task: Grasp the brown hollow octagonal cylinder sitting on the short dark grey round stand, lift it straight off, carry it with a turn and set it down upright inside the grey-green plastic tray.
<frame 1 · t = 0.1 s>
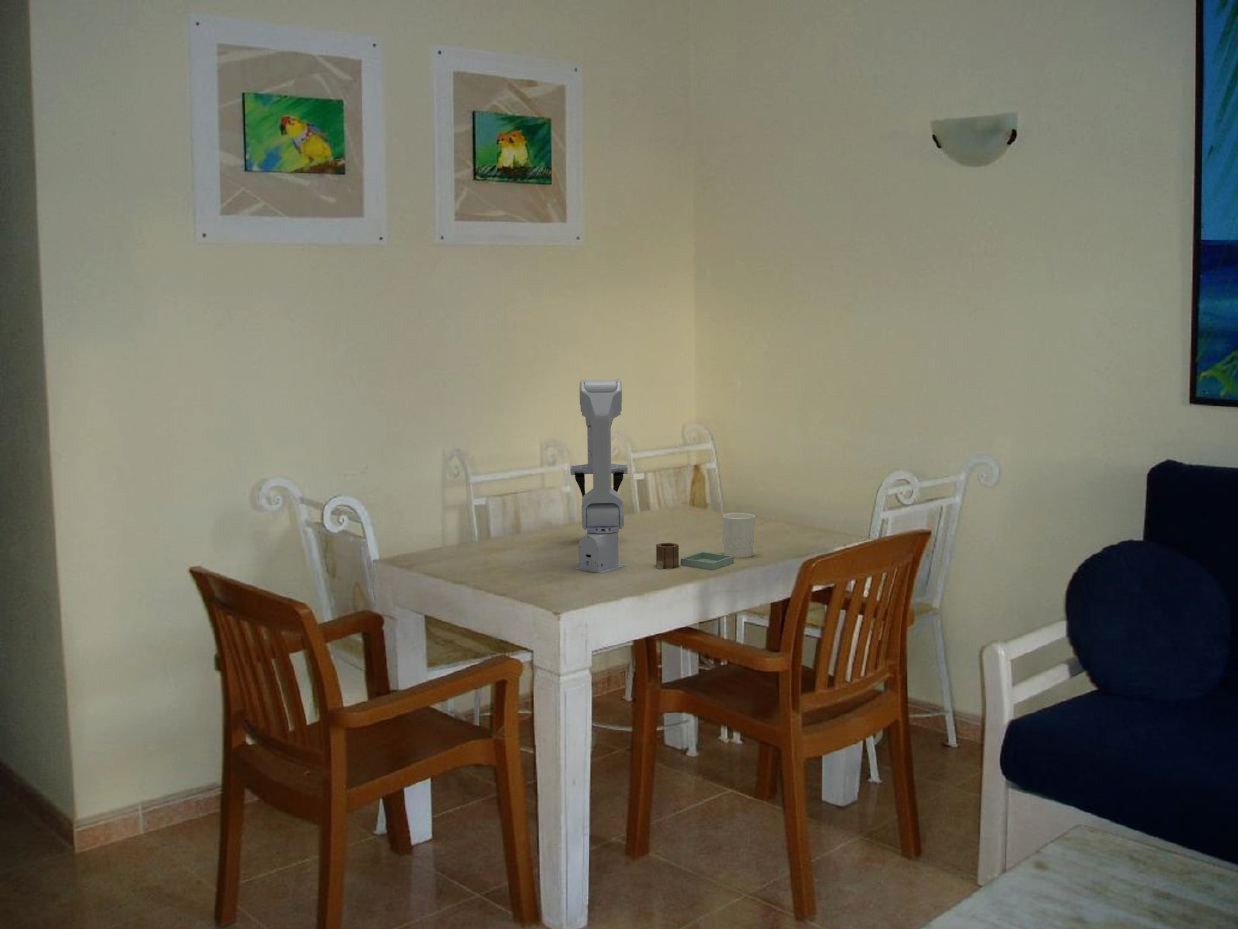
hand: (599, 500, 330), 11 cm above the table, tool pointing down, fingers open, 7 cm apart
dark grey round stand: (667, 567, 300), on the table
tray: (707, 565, 301), on the table
white cup: (738, 557, 311), on the table
brown hollow octagonal cylinder: (667, 566, 300), resting on dark grey round stand
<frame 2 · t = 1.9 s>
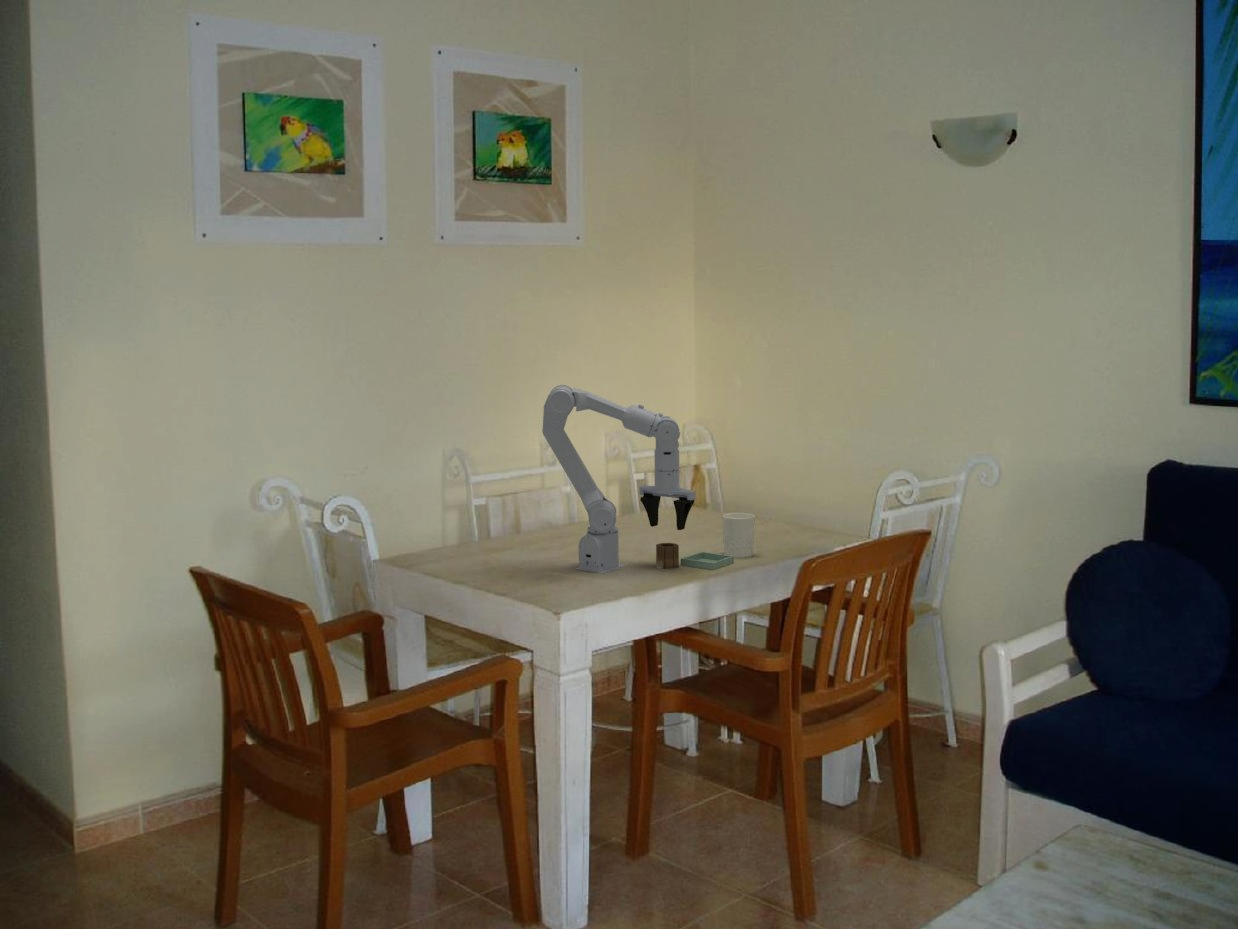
hand: (667, 527, 298), 10 cm above the table, tool pointing down, fingers open, 7 cm apart
nothing on the table moved.
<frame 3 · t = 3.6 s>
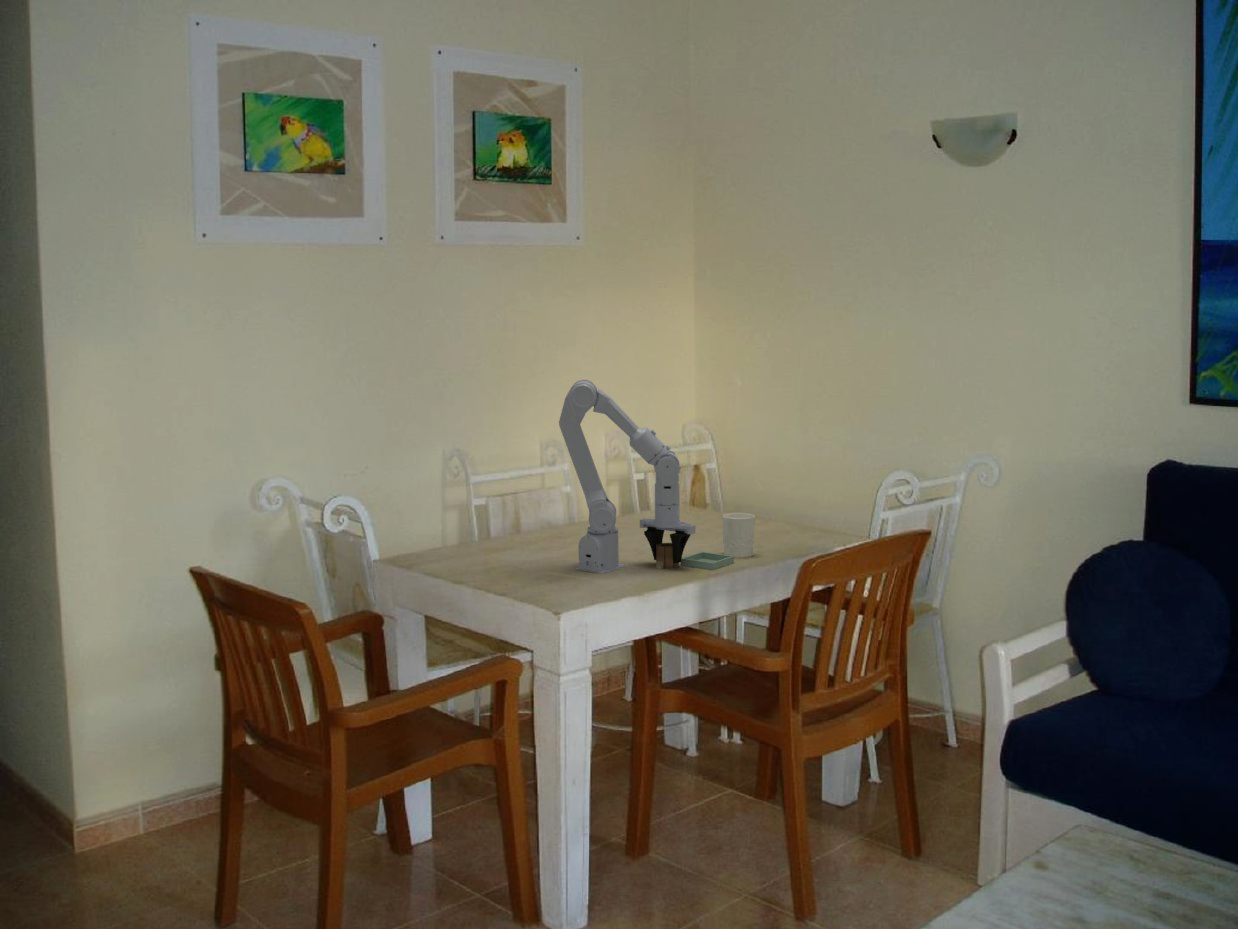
hand: (667, 561, 300), 2 cm above the table, tool pointing down, fingers closed on brown hollow octagonal cylinder, 5 cm apart
brown hollow octagonal cylinder: (667, 566, 300), resting on dark grey round stand, touching gripper
everything else where it was.
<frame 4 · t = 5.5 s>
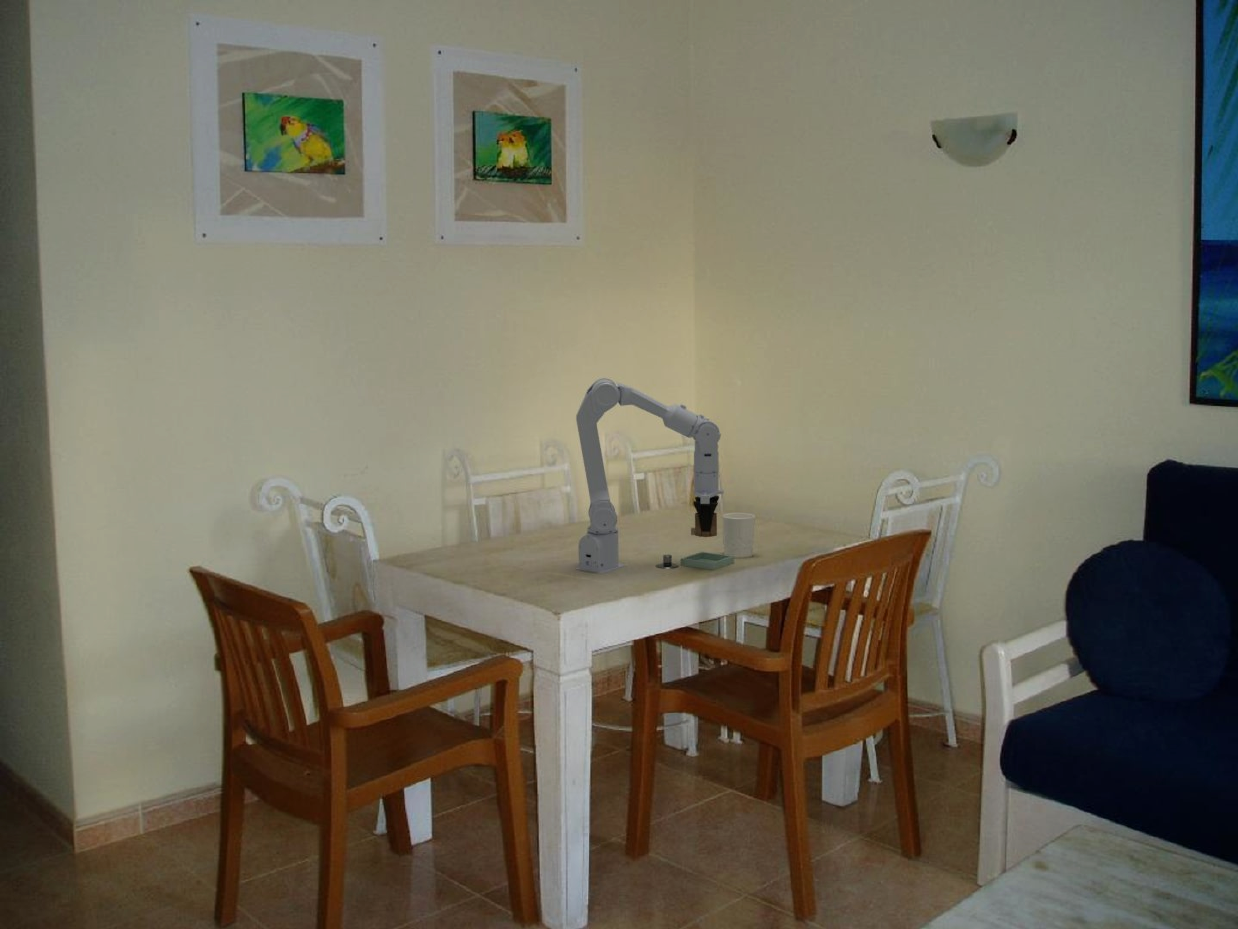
hand: (706, 529, 300), 9 cm above the table, tool pointing down, fingers closed on brown hollow octagonal cylinder, 5 cm apart
brown hollow octagonal cylinder: (706, 534, 300), point 7 cm above the table, touching gripper
everything else where it was.
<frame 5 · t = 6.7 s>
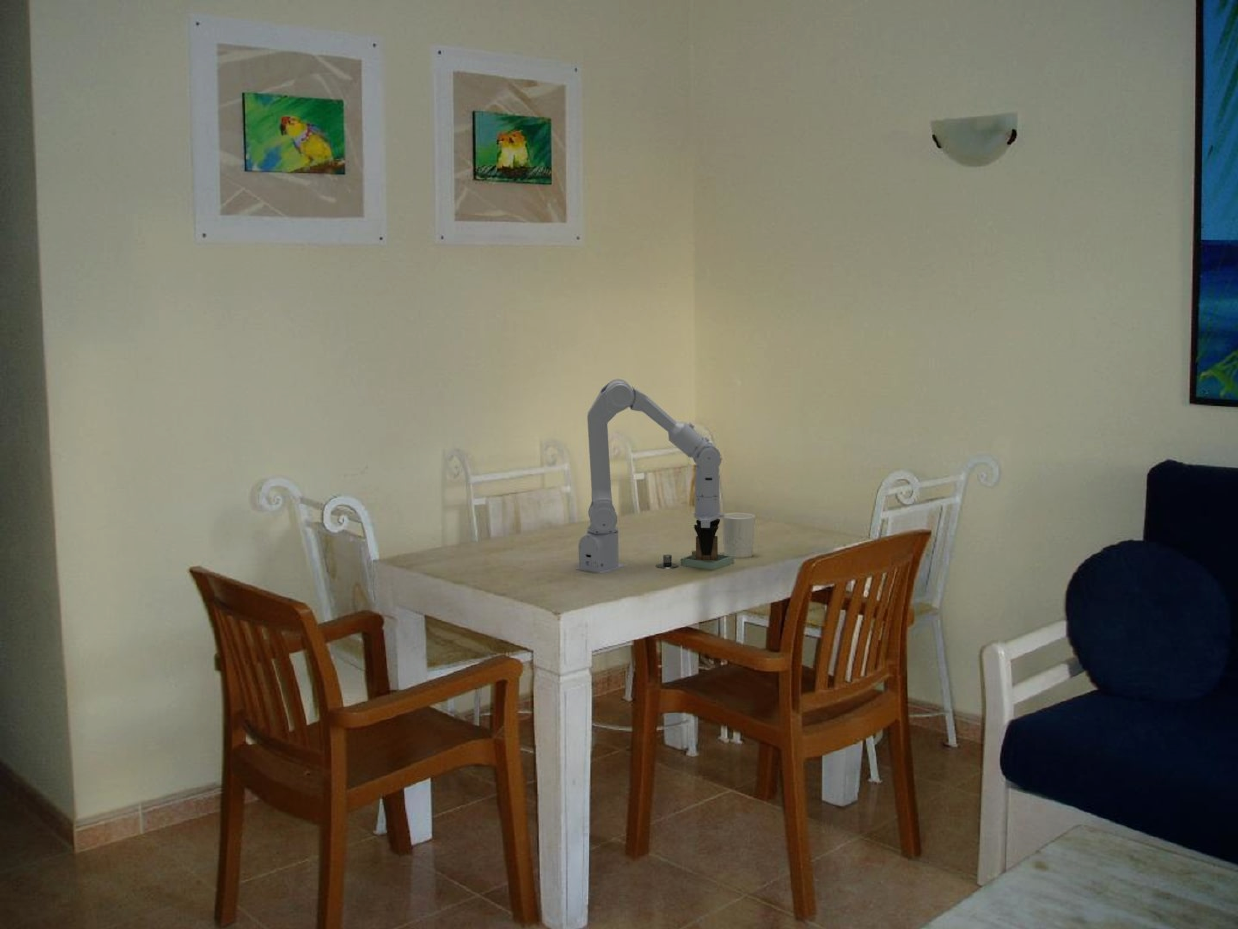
hand: (707, 552, 301), 3 cm above the table, tool pointing down, fingers closed on brown hollow octagonal cylinder, 5 cm apart
brown hollow octagonal cylinder: (706, 558, 301), point 2 cm above the table, touching gripper
everything else where it was.
when the fingers open (3 cm above the table, at t = 7.5 s): brown hollow octagonal cylinder drops 1 cm, resting on tray.
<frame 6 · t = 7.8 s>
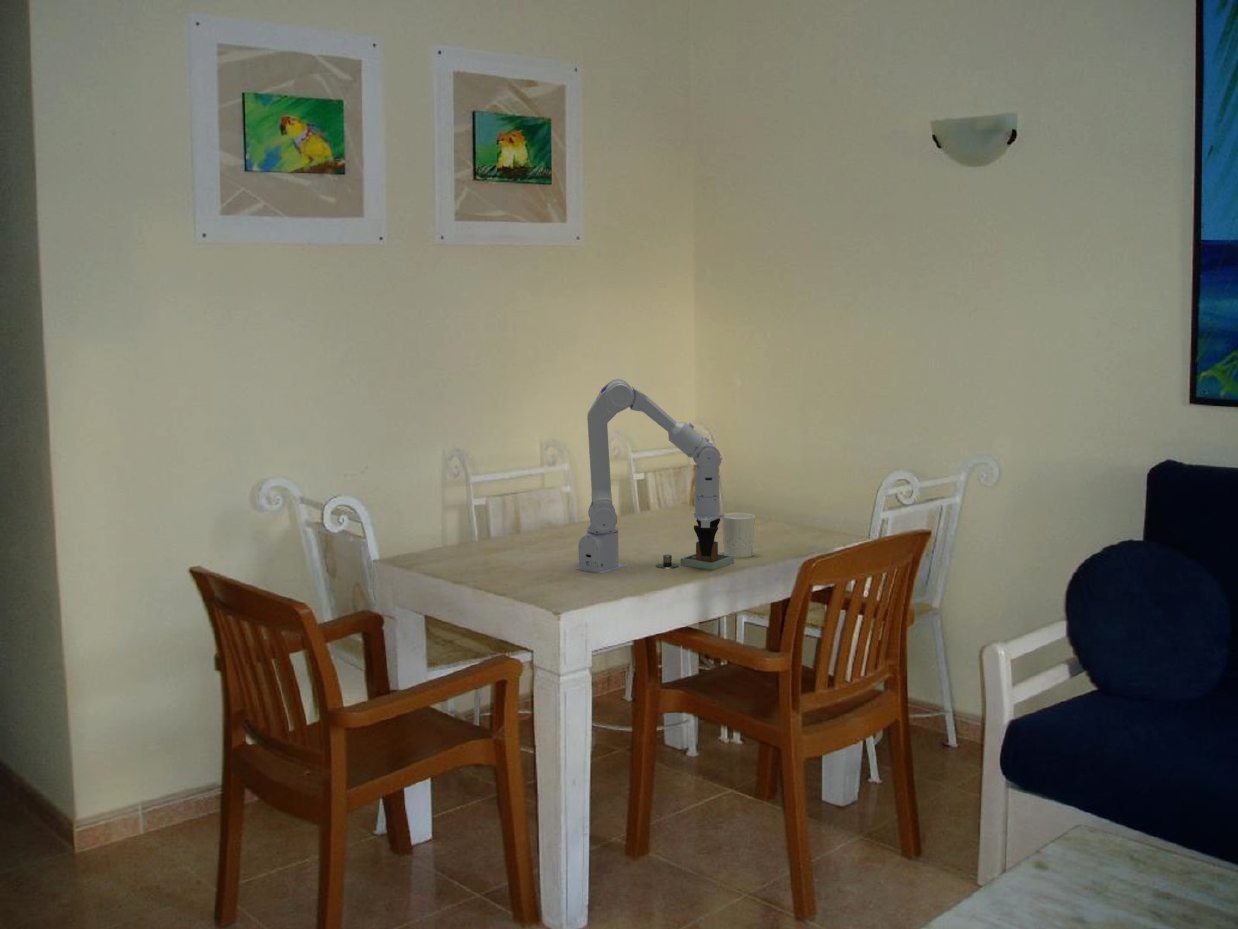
hand: (707, 552, 301), 3 cm above the table, tool pointing down, fingers open, 7 cm apart
brown hollow octagonal cylinder: (707, 563, 301), resting on tray
everything else where it was.
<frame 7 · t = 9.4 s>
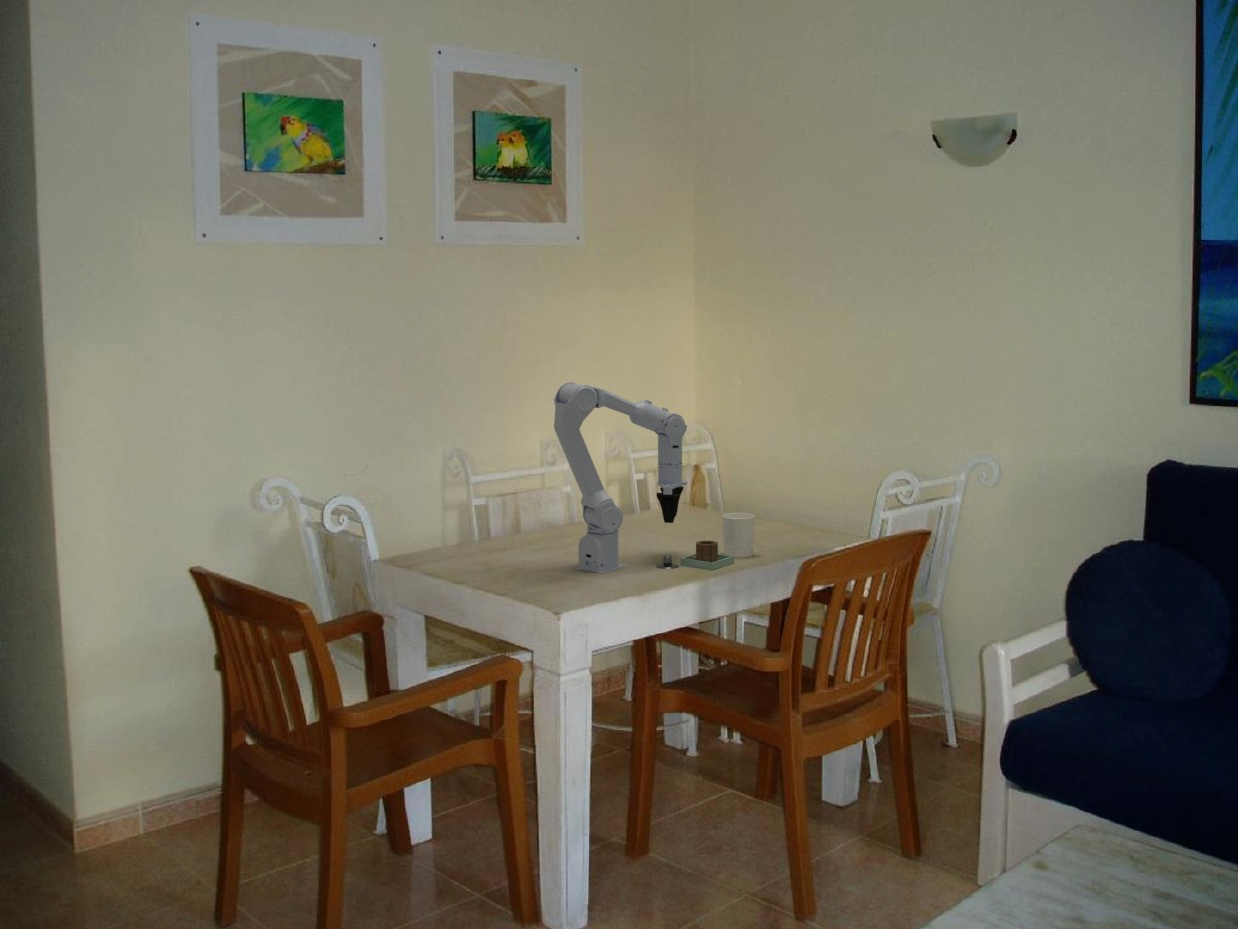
hand: (670, 519, 306), 10 cm above the table, tool pointing down, fingers open, 7 cm apart
nothing on the table moved.
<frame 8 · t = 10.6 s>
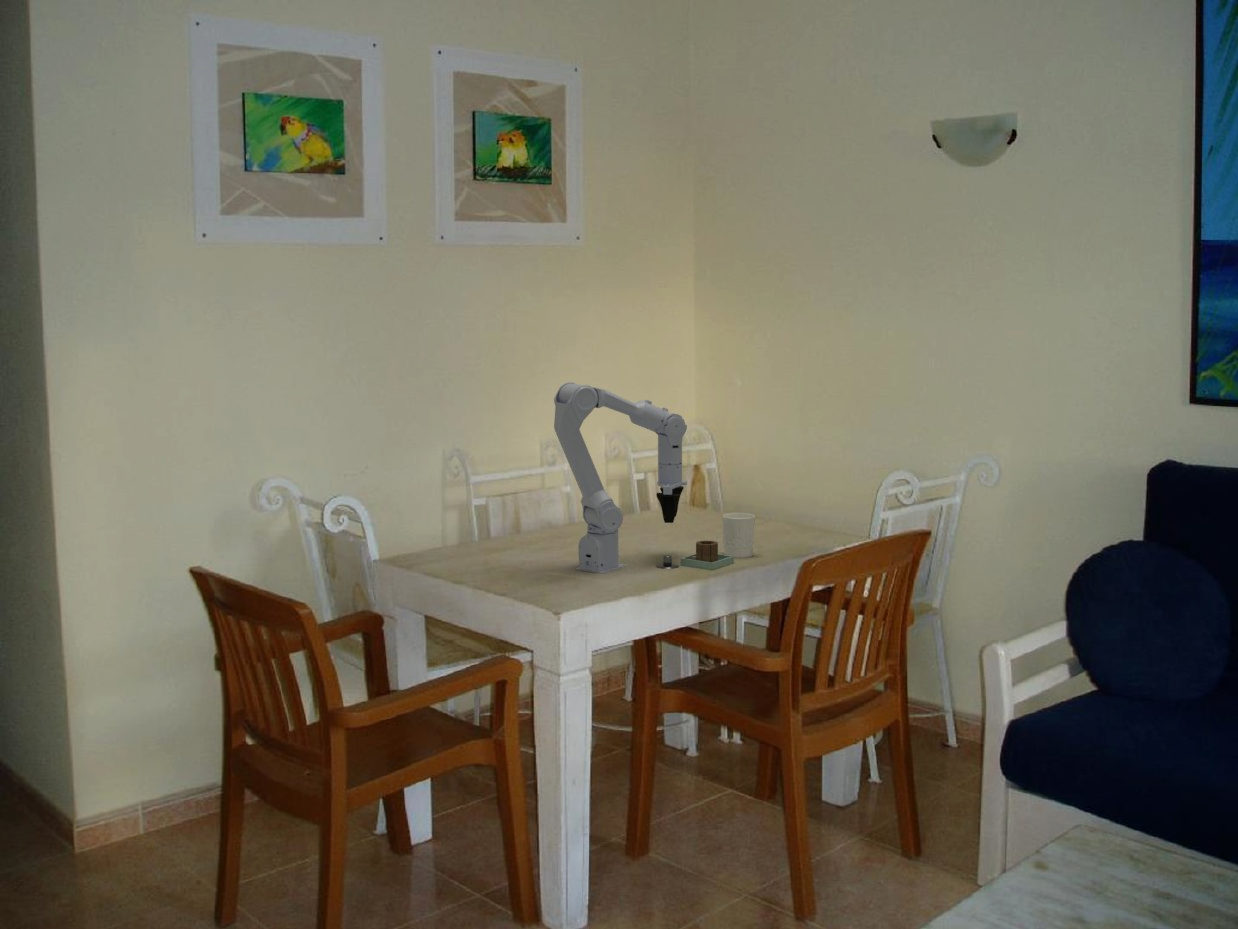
hand: (670, 519, 306), 10 cm above the table, tool pointing down, fingers open, 7 cm apart
nothing on the table moved.
at the end: brown hollow octagonal cylinder 0.0 cm off-centre on the tray, point 0.5 cm above the tray's base; brown hollow octagonal cylinder tilted 0°; the gripper is holding nothing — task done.
